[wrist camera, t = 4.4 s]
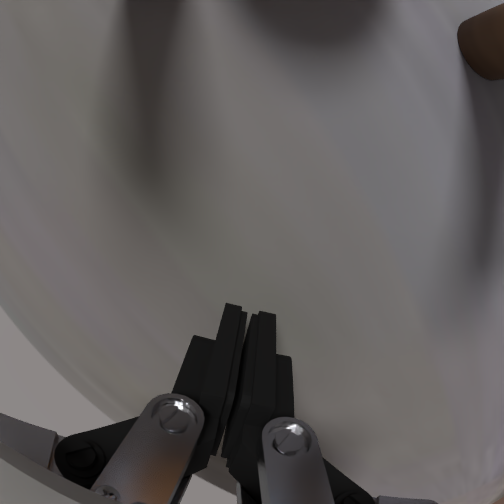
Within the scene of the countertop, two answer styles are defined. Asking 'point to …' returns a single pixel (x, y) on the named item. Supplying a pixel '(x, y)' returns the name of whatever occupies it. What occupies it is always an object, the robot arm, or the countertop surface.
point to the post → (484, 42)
